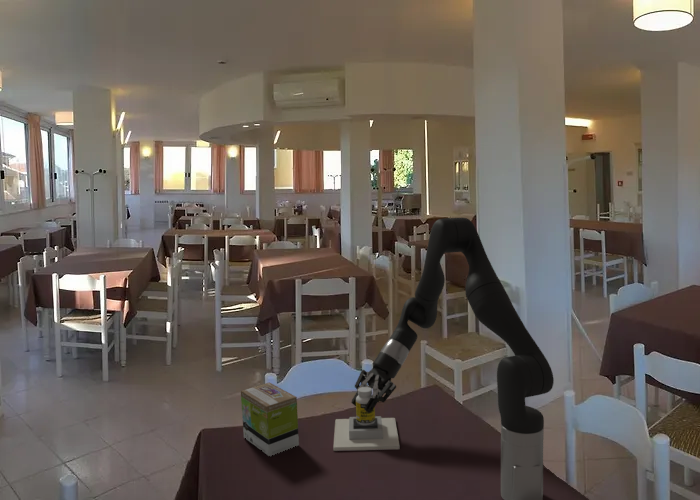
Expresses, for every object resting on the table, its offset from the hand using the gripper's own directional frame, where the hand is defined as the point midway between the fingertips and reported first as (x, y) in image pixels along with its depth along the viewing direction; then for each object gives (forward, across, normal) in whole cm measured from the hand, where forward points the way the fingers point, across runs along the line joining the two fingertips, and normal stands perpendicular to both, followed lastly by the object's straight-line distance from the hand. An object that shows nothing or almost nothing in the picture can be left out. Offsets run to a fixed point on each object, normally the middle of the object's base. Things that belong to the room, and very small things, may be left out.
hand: (360, 407), depth 159 cm
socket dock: (+5, 0, +7) cm, 9 cm away
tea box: (+22, -14, -9) cm, 27 cm away
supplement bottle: (+2, 0, +5) cm, 5 cm away
